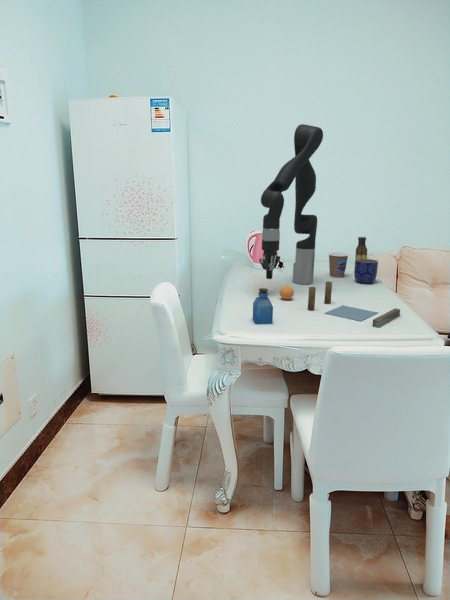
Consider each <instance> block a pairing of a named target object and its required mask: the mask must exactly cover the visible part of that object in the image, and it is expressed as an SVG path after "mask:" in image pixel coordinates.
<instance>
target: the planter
mask: <svg viewBox="0 0 450 600" xmlns="http://www.w3.org/2000/svg"><path fill="white" fill-rule="evenodd" d="M378 267H379V261H378V260H377V259H373V258H371V259H370V258H367V259H356V260H355V259H354V270H353V271H354V272H353V274H354V276H353V277H354V279H355V281H356V283H359V284H362V285H370V284H373V283H374V282H375V281H376V279H377V275H378Z"/></svg>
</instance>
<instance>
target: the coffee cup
mask: <svg viewBox="0 0 450 600" xmlns="http://www.w3.org/2000/svg"><path fill="white" fill-rule="evenodd" d="M348 256H349V254H348V253H346V252H345V253H344V252H329V253H328V261H329V263H328V264H329V265H328V267H329V276H330V277H331V278H334V279H335V278H336V279H340V278H341V279H342V278H344V277H345V272H346V270H347V269H346V268H347V263H348Z"/></svg>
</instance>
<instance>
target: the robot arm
mask: <svg viewBox="0 0 450 600" xmlns="http://www.w3.org/2000/svg"><path fill="white" fill-rule="evenodd" d="M323 139H324V131H323V130H322V128H321V127H318V126H315V125H309V124H306V123H305V124H303V123H302V124H299V125H297V127H296V129H295V130H294V136H293V144H294V145H293V146H294V157H293V158H291V159H290V160H288V161H287V162H286V163H285V164H284V165H282V167H281V168H280V169H279V171H278V173H277V174H276V176H275V178H274V180H273V181H272V182H271V183H270V184H269V185H268V186H267V187H266V188H265V190H263V192H262V194H261V197H260V203H261V206H262V207H264V208H266V209H268V212H267V213H265V215H263V219H262V233H261V250H262V252H263V253H262V258H259V260H258V261H259V263H260V266H261V267H262V269H263V270H265V277H266V280H272V279H273V271H274V270H275V269H276V268H277V266H278V265H279V262H280V260H281V255H280V256H279V255H278V251H279V250H280V237H281V236H280V235H281V233H280V222H281V221H280V220H281V216H282V213H283V209H284V206H285V199H284V194H282V193H283V192H286V191H288V189H290V186H291V185H292V183H293V182H294V180H295V185H294V187H295V189H294V190H295V194H294V195H295V203H294V206H295V207H294V220H293V222H294V223H293V230H294V233H295V234H298V235H309V236H308V237H307V238H304V239H300V240H298V241H296V243H295V244H296V245H295V258H294V259H295V261H294V262H293V265H292V266H293V267H292V283H294V284H297V285H298V284H299V285H312V284H313V283H314V272H315V271H314V270H315V258H316V256H315V255H316V237H317V230H318V217H317V215H315V214H302V213H303V211H304V209H305V207H306V205H307V203H308V202H309V201H310V200H311V198H312V197H313V196H314V195H315V193H316V188H317V175H316V174H317V173H316V172H315V169H314V167H313V165H312V163H311V161H310V159H311V158H312V156H313V155H314V153H316V152H317V150H318V149H319V147H320V146H321V144H322V142H323Z"/></svg>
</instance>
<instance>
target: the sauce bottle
mask: <svg viewBox="0 0 450 600" xmlns="http://www.w3.org/2000/svg"><path fill="white" fill-rule="evenodd" d="M357 240H358V243H357V246H356V248H355V254H354V255H355V257H354V261H355V260H356V259H368V248H367V245H366V241H367V237H366V236H358V237H357Z"/></svg>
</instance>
